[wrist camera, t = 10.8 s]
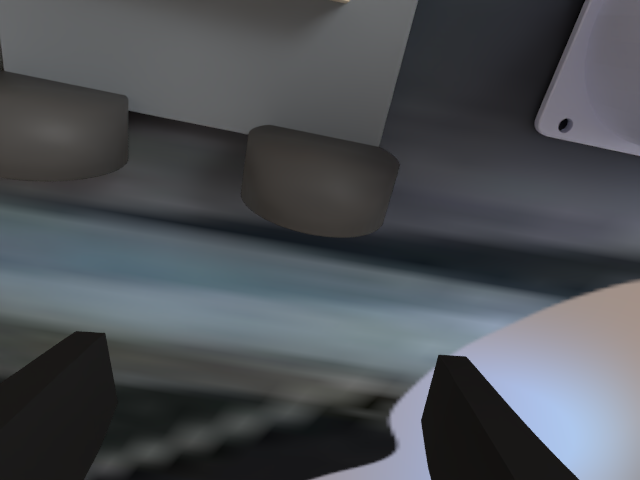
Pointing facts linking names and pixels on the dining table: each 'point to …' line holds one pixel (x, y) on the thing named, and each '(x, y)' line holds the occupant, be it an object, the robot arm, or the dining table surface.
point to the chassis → (213, 94)
